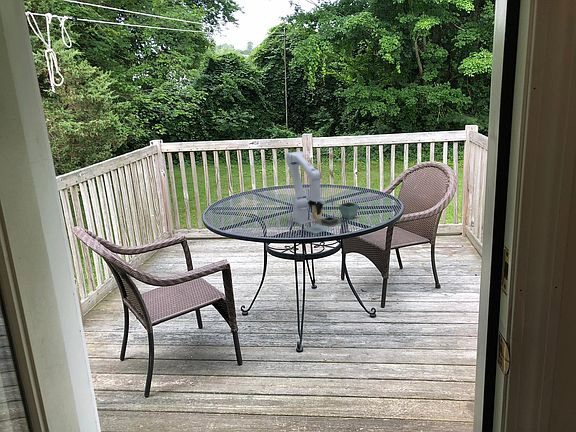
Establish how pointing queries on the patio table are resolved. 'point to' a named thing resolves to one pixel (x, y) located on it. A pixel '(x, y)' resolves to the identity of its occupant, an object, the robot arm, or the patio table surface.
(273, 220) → the patio table surface
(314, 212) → the peg
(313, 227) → the board
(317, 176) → the robot arm
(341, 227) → the patio table surface
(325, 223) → the socket base
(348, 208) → the flower pot
